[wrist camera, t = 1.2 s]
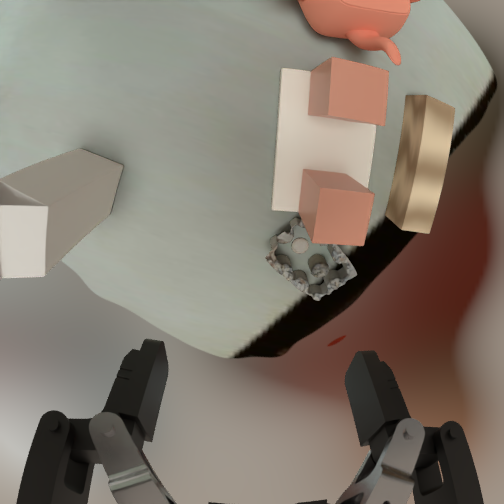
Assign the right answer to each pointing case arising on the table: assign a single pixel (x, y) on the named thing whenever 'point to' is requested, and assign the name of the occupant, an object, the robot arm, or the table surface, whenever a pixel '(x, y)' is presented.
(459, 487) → the robot arm
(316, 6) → the teapot
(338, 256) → the egg carton
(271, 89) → the table surface
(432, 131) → the oak beam
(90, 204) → the milk carton
